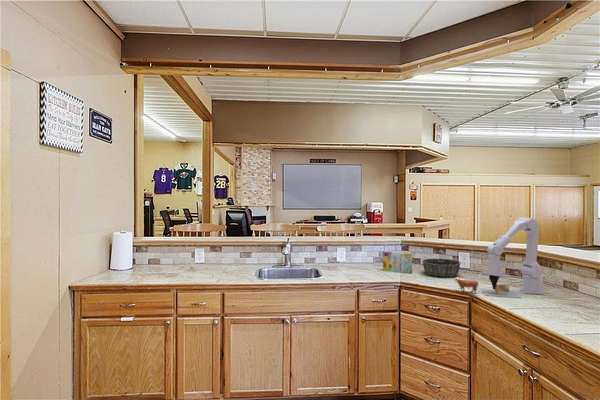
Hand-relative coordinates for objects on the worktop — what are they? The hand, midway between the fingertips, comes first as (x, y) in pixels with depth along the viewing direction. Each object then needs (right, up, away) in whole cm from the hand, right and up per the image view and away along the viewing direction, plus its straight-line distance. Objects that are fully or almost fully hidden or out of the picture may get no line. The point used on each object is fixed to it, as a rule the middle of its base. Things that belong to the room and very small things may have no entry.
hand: (494, 288), depth 211 cm
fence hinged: (+2, -2, +1) cm, 3 cm away
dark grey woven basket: (-10, -3, +54) cm, 55 cm away
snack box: (-38, -3, +66) cm, 77 cm away
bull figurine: (-14, -3, +5) cm, 15 cm away
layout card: (+4, -3, +1) cm, 5 cm away
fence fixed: (+7, -3, +4) cm, 9 cm away
